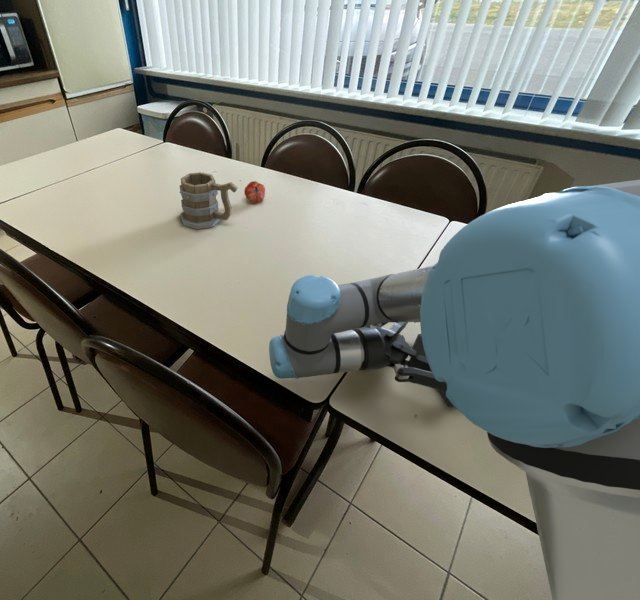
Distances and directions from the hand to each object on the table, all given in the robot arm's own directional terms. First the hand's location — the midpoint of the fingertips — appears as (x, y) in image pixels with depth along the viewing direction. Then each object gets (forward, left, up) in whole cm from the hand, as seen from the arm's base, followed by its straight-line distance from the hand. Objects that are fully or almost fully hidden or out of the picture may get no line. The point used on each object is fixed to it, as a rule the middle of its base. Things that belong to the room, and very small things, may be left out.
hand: (466, 338), depth 68 cm
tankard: (+68, +43, -11) cm, 81 cm away
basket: (0, -4, -11) cm, 11 cm away
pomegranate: (+81, +26, -11) cm, 86 cm away
